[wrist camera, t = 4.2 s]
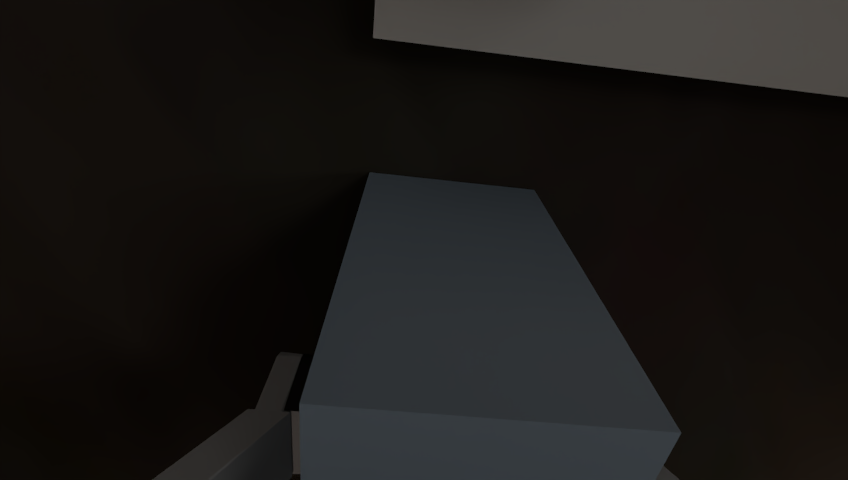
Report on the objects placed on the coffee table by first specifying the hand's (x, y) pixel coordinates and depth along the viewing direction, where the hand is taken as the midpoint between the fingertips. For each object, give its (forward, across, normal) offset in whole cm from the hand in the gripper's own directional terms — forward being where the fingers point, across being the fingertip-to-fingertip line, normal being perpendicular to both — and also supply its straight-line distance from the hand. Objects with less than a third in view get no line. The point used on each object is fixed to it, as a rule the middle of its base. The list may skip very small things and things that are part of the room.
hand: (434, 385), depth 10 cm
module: (+3, 0, 0) cm, 3 cm away
